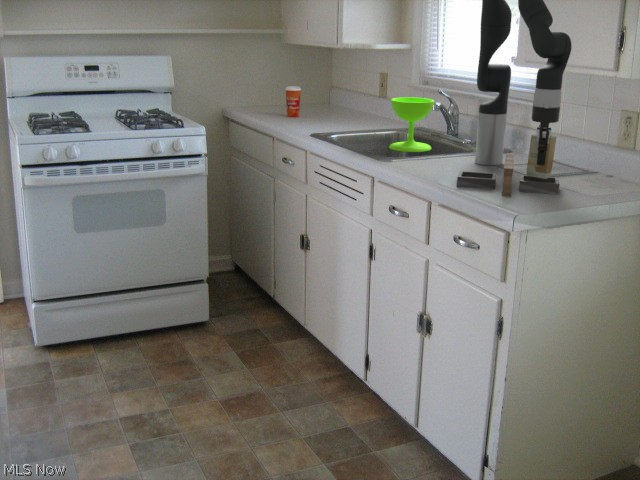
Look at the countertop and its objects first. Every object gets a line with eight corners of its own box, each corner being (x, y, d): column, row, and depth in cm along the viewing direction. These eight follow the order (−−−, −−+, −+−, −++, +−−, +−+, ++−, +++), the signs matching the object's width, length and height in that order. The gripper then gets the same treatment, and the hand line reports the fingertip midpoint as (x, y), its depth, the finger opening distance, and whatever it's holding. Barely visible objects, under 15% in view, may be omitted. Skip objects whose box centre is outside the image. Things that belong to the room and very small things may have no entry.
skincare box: (525, 176, 217) (529, 134, 214) (531, 173, 221) (535, 133, 217) (546, 179, 214) (551, 137, 210) (552, 176, 217) (557, 135, 213)
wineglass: (419, 153, 270) (421, 103, 264) (381, 148, 278) (383, 100, 273) (438, 147, 282) (441, 99, 277) (401, 142, 291) (404, 96, 285)
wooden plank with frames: (461, 175, 235) (462, 150, 233) (556, 181, 228) (559, 156, 226) (454, 192, 213) (456, 165, 210) (559, 200, 206) (562, 172, 204)
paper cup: (283, 117, 353) (283, 87, 349) (287, 114, 360) (287, 85, 356) (298, 117, 352) (299, 88, 347) (303, 115, 359) (303, 86, 354)
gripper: (532, 101, 218) (527, 157, 223) (533, 107, 205) (527, 166, 210) (559, 102, 217) (553, 159, 222) (561, 108, 203) (554, 168, 208)
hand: (540, 162), depth 216 cm, fingers closed on skincare box, 5 cm apart
